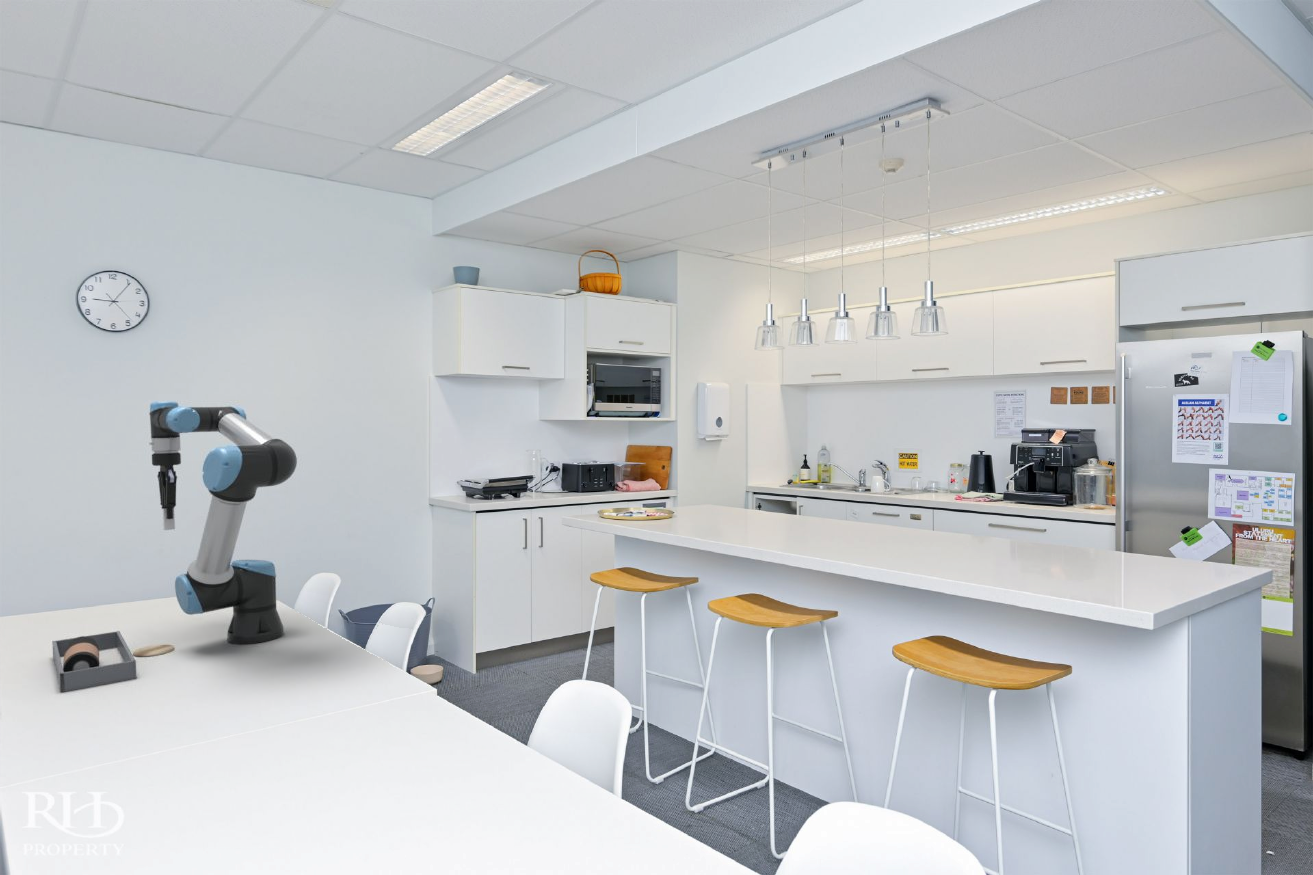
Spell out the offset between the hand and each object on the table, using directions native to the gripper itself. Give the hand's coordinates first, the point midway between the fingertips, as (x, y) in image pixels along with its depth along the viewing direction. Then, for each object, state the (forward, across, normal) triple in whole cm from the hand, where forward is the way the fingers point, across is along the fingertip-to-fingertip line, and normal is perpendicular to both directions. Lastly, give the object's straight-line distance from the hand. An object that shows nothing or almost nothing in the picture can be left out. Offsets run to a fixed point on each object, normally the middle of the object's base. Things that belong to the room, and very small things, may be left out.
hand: (169, 529), depth 246 cm
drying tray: (+32, +21, -24) cm, 45 cm away
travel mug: (+28, +15, -25) cm, 41 cm away
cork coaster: (+32, +17, -8) cm, 37 cm away
